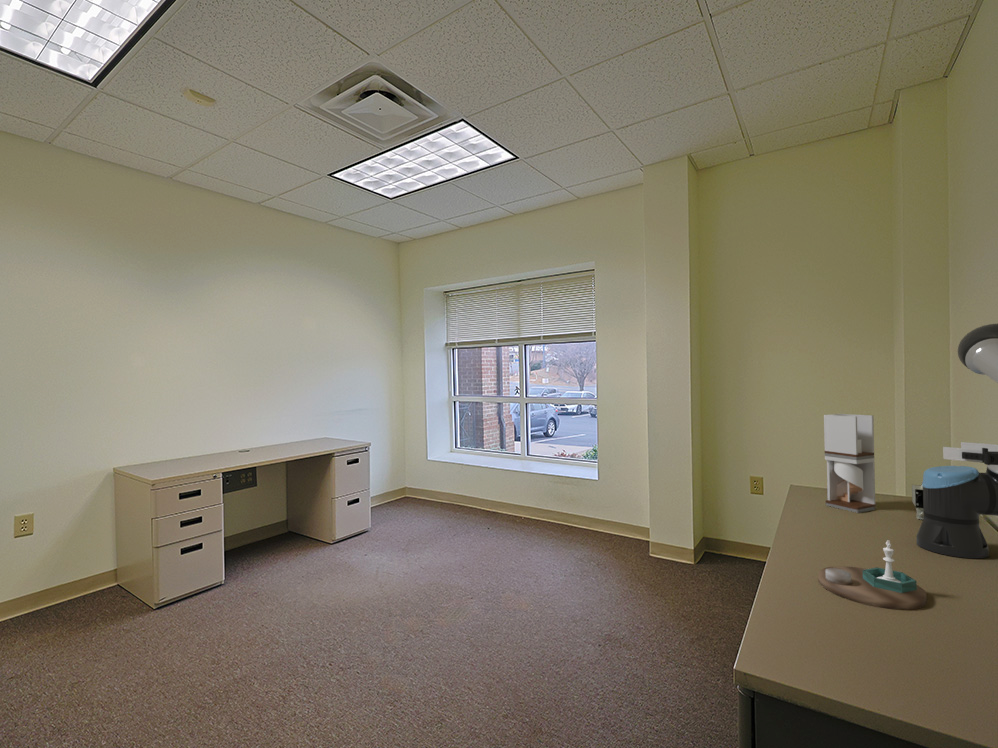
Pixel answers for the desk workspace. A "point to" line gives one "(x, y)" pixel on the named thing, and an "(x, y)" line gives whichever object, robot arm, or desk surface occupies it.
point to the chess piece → (888, 564)
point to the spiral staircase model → (850, 461)
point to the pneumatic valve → (918, 500)
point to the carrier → (873, 587)
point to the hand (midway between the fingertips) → (952, 450)
